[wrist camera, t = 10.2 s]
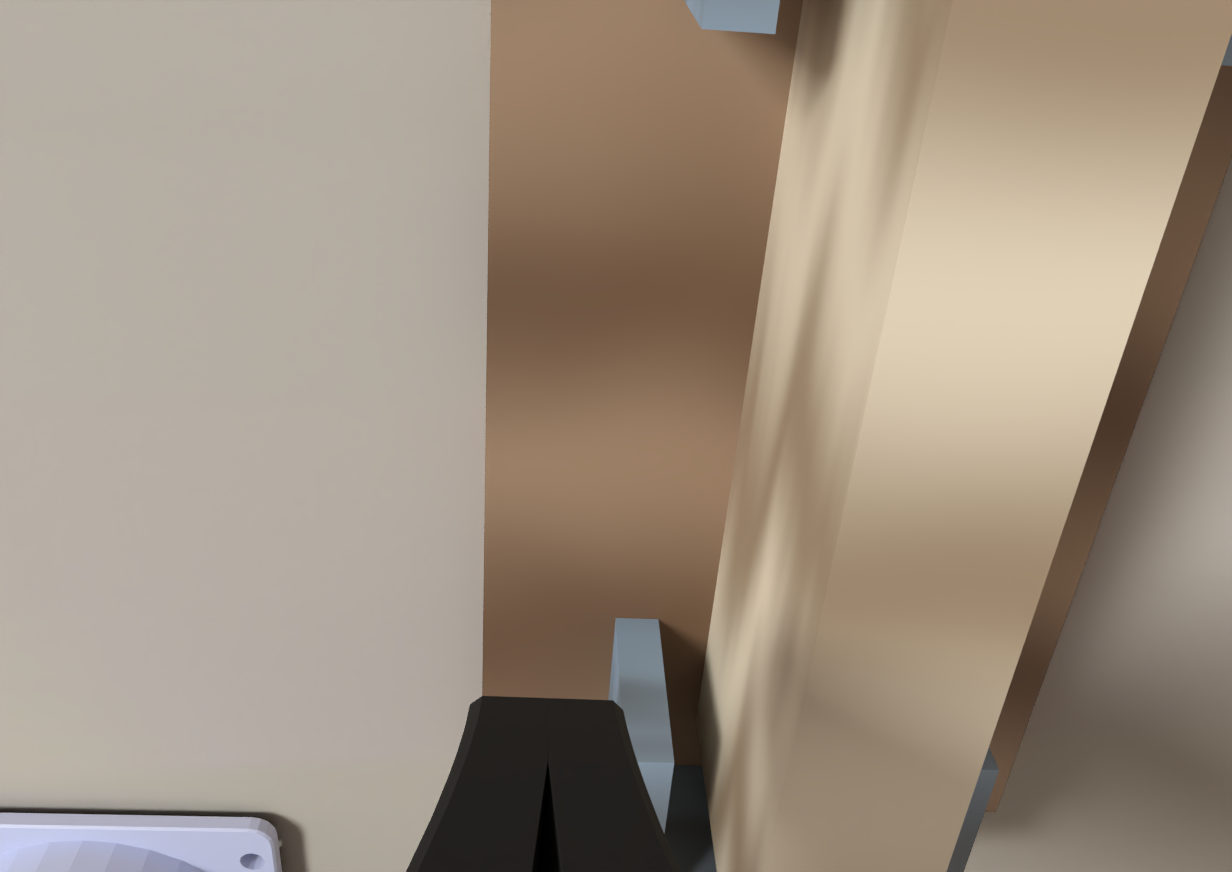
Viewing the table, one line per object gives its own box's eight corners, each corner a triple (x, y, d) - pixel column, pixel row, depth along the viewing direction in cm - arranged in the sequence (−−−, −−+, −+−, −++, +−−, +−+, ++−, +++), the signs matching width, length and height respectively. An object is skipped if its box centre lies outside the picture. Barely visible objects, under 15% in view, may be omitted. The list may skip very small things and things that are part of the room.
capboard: (980, 775, 24) (1060, 962, 20) (484, 764, 23) (467, 956, 19) (1384, -407, 13) (1715, -496, 10) (503, -497, 13) (472, -632, 9)
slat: (819, 723, 22) (898, 1012, 16) (695, 720, 21) (736, 1011, 16) (1029, -200, 14) (1312, -206, 8) (834, -217, 13) (1002, -235, 8)
